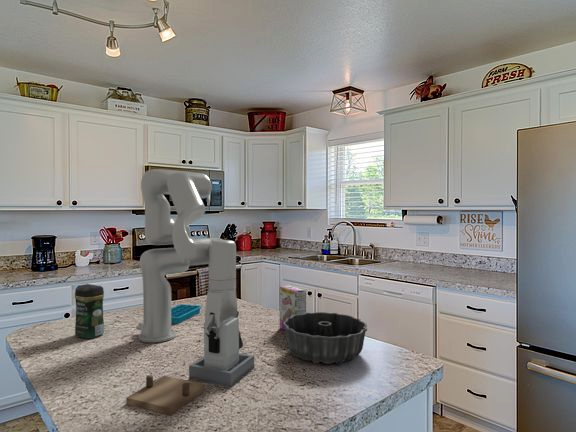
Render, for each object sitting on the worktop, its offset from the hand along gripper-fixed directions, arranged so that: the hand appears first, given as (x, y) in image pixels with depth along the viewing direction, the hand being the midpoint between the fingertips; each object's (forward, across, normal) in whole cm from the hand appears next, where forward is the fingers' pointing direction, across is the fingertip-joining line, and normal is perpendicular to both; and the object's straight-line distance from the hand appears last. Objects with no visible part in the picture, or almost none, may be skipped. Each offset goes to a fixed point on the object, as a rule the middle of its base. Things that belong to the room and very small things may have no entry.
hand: (222, 347), depth 108 cm
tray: (+7, 0, 0) cm, 7 cm away
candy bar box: (+7, -42, +4) cm, 43 cm away
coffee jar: (+8, -9, -62) cm, 63 cm away
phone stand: (+8, -17, -9) cm, 20 cm away
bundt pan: (+7, -25, +22) cm, 34 cm away
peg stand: (+7, +17, -5) cm, 19 cm away
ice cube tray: (+8, -42, -48) cm, 64 cm away
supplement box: (+5, 0, 0) cm, 5 cm away
